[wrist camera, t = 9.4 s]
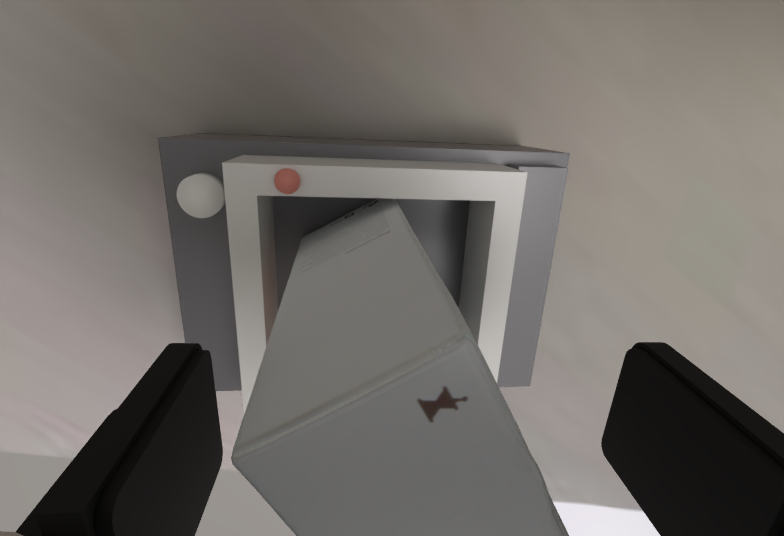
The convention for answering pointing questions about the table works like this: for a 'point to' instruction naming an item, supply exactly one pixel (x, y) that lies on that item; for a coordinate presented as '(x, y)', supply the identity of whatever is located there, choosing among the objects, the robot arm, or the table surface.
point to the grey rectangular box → (339, 197)
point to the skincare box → (383, 400)
